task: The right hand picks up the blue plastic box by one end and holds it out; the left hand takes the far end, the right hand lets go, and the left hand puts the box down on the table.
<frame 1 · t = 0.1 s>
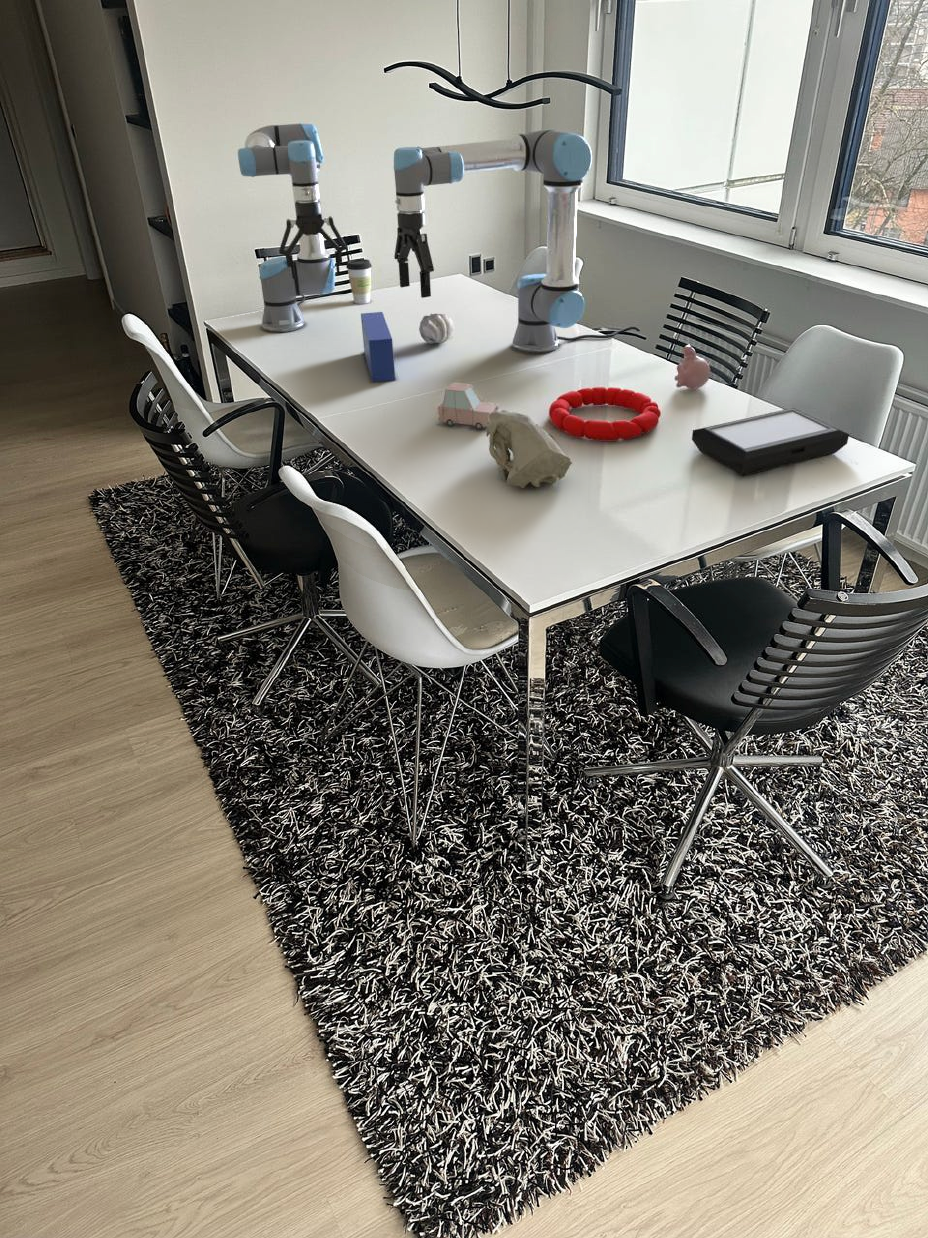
left hand: (316, 276, 273), 28 cm above the table, tool pointing down, fingers open, 13 cm apart
right hand: (415, 291, 255), 28 cm above the table, tool pointing down, fingers open, 13 cm apart
decorative ring: (603, 422, 244), on the table
figurine: (690, 388, 263), on the table
electronic device: (766, 453, 224), on the table
animal skull: (520, 470, 220), on the table
toy car: (468, 423, 246), on the table
coffee cup: (362, 301, 351), on the table
seashell: (437, 343, 305), on the table
box: (379, 365, 288), on the table
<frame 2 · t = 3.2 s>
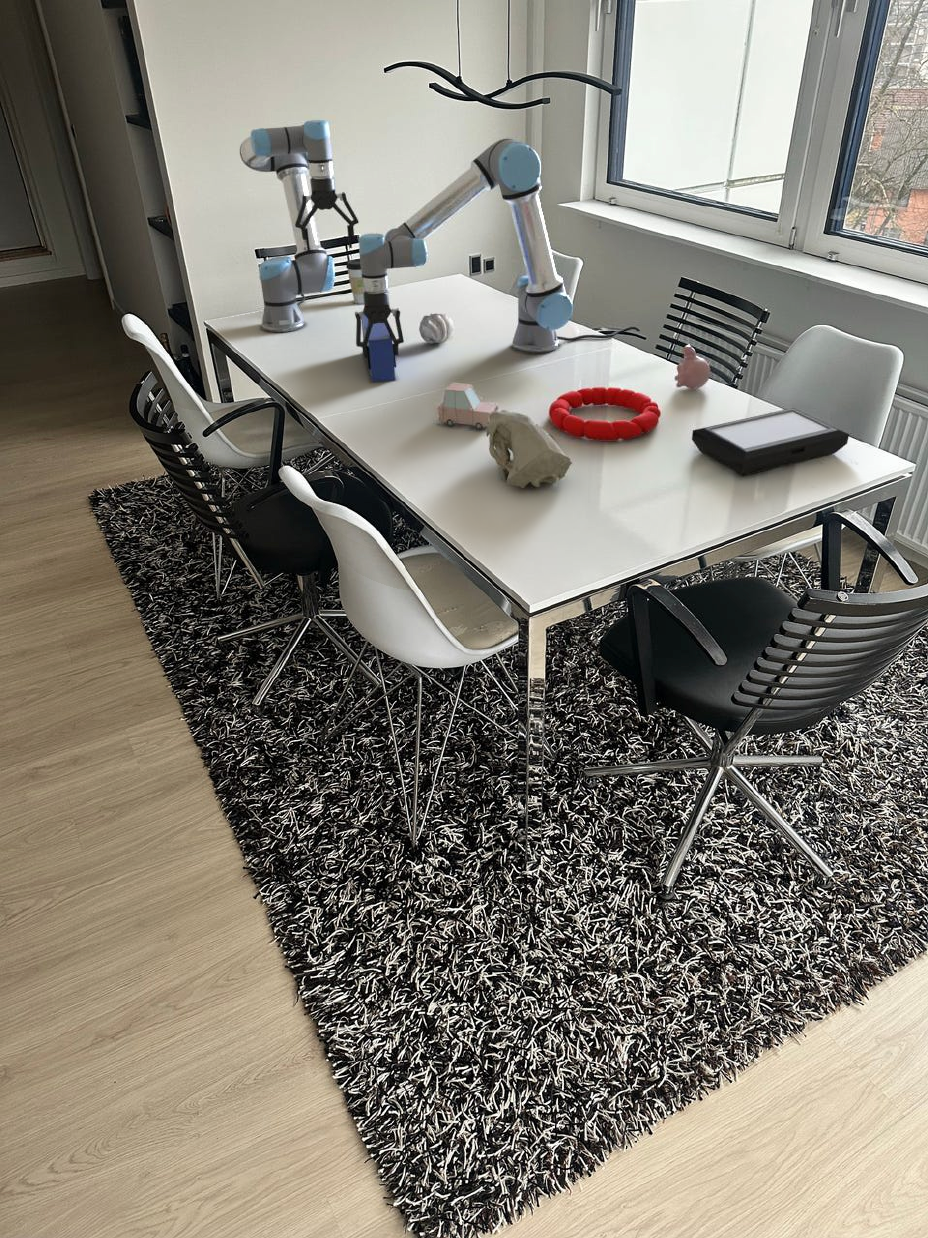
left hand: (329, 248, 291), 31 cm above the table, tool pointing down, fingers open, 13 cm apart
right hand: (381, 366, 276), 3 cm above the table, tool pointing down, fingers closed on box, 7 cm apart
box: (379, 365, 288), on the table, touching right hand
everything else where it was.
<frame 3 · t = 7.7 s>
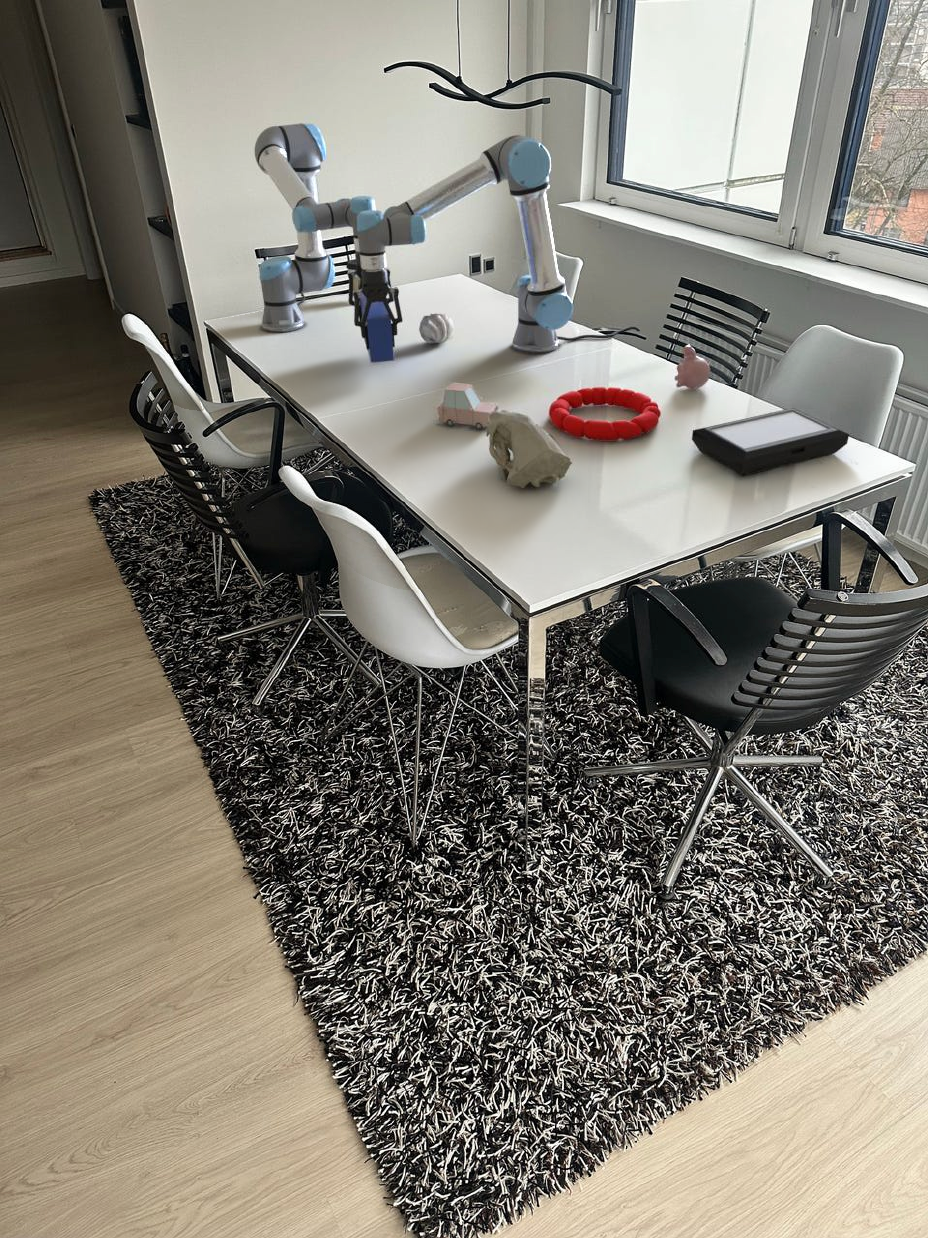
left hand: (373, 324, 292), 10 cm above the table, tool pointing down, fingers closed on box, 7 cm apart
right hand: (380, 346, 273), 10 cm above the table, tool pointing down, fingers closed on box, 7 cm apart
box: (377, 346, 284), point 6 cm above the table, touching left hand, right hand
everything else where it was.
when the right hand's fingers open (10 cm above the table, at t = 8.6 s): box stays where it is, held by the left hand.
when the left hand's fingers open (5 cm above the table, at t = 13.7 s): box drops 2 cm, on the table.
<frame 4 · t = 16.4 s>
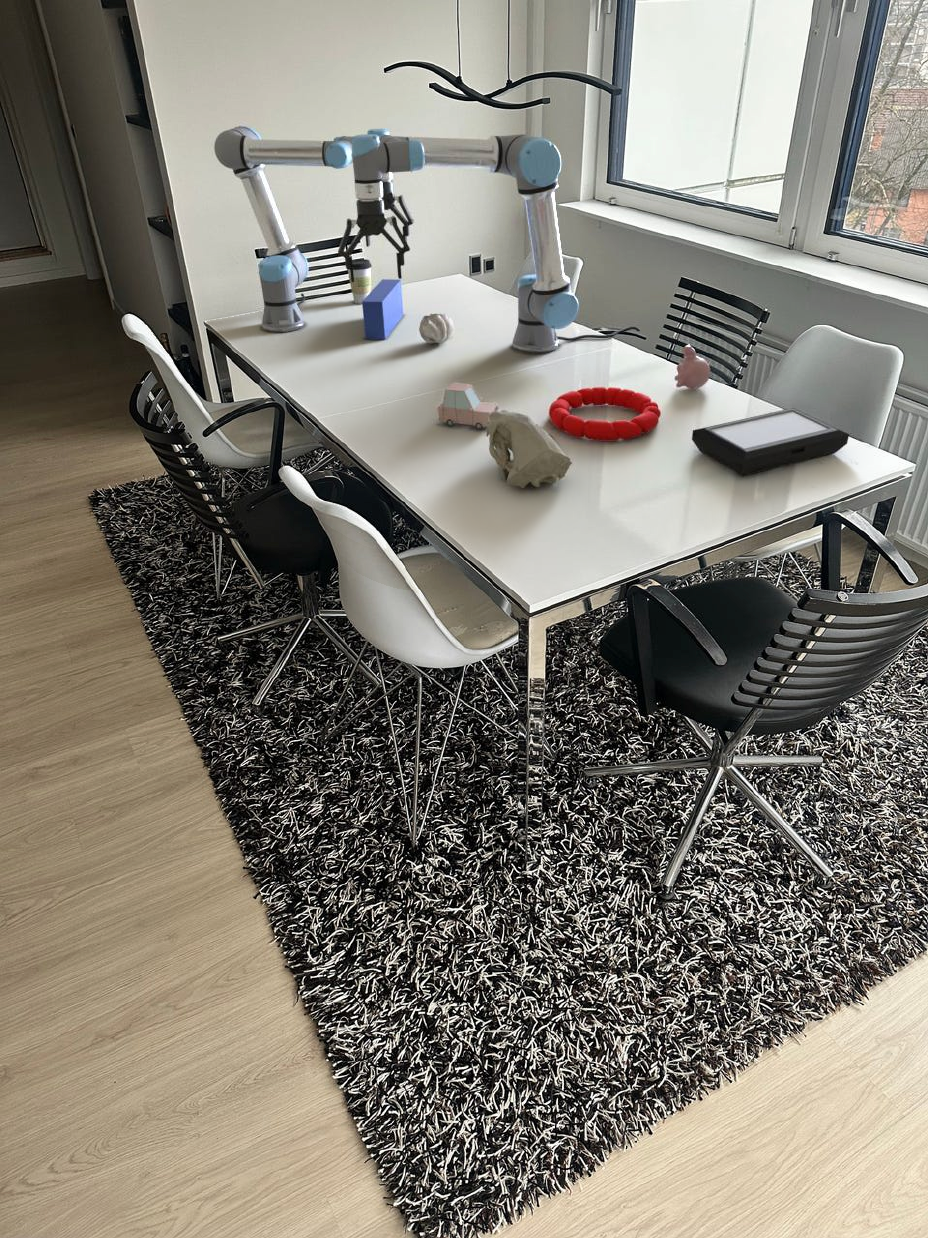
left hand: (386, 245, 318), 25 cm above the table, tool pointing down, fingers open, 13 cm apart
right hand: (376, 279, 256), 31 cm above the table, tool pointing down, fingers open, 13 cm apart
box: (385, 326, 323), on the table
everything else where it was.
at the end: box inside the target area (11.3 cm from its centre), on the table; the left hand is holding nothing; the right hand is holding nothing; box at rest at the end (0.0 cm/s) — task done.
